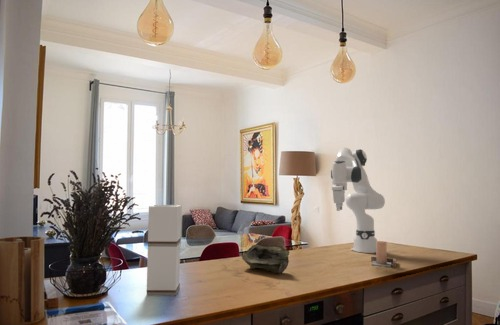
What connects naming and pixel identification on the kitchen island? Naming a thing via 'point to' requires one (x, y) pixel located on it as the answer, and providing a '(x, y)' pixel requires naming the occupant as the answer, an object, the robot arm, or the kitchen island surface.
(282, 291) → the kitchen island surface
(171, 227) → the white banded pillar
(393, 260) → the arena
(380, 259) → the terracotta jar
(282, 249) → the hollow geode rock
